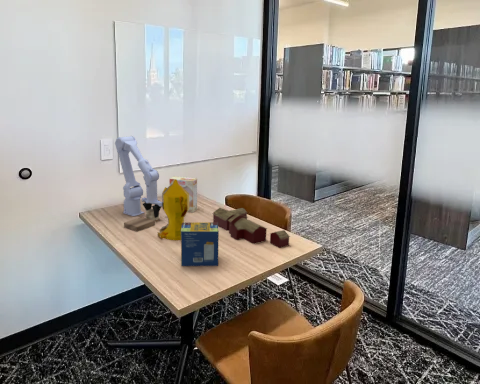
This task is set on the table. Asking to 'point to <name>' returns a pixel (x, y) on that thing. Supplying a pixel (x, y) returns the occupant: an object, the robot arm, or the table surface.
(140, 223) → the walnut slab
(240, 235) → the toy houses
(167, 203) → the yellow faceted tall shape
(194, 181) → the coffeecake box
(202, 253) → the protein box
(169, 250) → the table surface
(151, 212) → the maple cube
